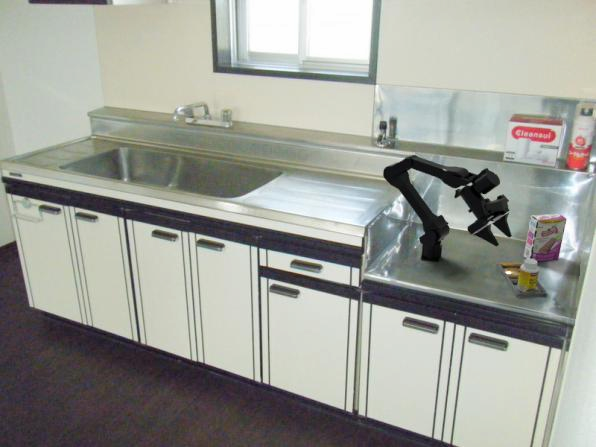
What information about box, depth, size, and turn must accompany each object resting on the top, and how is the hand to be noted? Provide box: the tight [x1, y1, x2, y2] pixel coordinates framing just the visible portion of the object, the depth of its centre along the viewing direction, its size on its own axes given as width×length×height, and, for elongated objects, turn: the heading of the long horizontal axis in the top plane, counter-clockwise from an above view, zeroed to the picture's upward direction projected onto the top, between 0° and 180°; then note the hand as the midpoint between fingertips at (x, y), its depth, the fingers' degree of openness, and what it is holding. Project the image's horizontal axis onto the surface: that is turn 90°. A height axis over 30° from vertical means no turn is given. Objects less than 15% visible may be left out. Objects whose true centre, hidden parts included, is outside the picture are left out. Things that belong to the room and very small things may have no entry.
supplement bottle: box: [517, 258, 540, 292], centre depth 184 cm, size 6×6×10 cm
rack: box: [495, 261, 548, 298], centre depth 191 cm, size 22×10×1 cm, turn 178°
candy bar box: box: [523, 213, 567, 263], centre depth 203 cm, size 11×5×16 cm, turn 100°
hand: (504, 241), depth 186 cm, fingers open, 9 cm apart
